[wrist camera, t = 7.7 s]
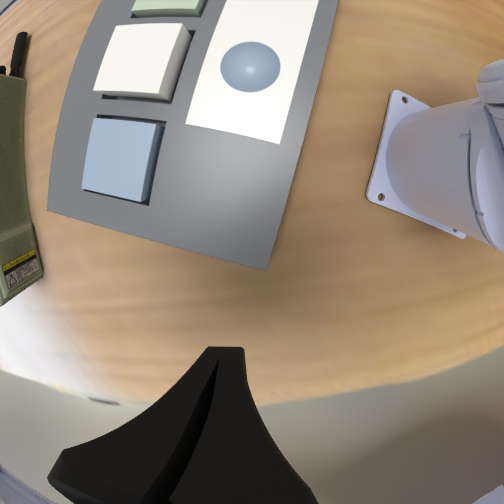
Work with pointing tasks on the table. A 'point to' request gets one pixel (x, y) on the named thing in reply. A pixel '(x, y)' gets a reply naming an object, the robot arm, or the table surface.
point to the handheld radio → (15, 186)
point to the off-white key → (143, 60)
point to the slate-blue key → (122, 158)
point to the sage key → (169, 8)
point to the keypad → (204, 126)
